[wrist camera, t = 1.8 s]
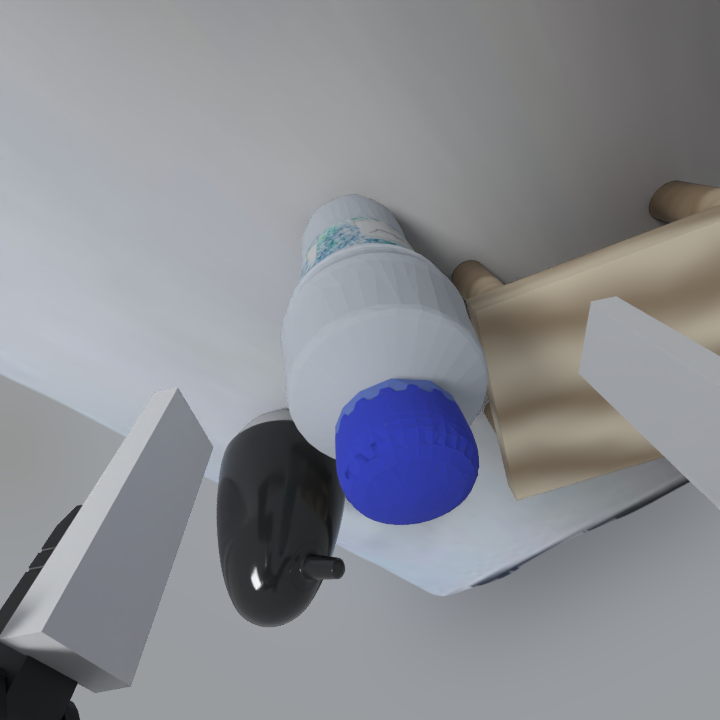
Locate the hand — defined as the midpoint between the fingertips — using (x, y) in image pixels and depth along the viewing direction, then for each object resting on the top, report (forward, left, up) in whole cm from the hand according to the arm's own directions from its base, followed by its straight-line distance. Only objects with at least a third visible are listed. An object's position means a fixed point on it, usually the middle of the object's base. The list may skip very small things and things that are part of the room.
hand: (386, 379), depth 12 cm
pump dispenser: (+16, -9, -15) cm, 24 cm away
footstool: (+10, +16, -15) cm, 24 cm away
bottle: (0, 0, -15) cm, 15 cm away
